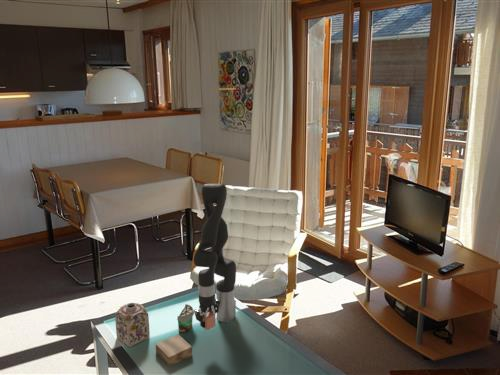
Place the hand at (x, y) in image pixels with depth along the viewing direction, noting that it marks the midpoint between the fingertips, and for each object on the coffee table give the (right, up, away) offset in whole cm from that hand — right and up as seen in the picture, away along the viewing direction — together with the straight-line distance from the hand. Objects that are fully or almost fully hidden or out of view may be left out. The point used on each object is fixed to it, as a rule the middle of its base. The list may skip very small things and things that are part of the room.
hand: (207, 324), depth 207 cm
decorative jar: (-37, -10, +10) cm, 40 cm away
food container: (-12, -8, +18) cm, 23 cm away
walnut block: (-15, -14, -1) cm, 21 cm away
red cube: (0, -1, 0) cm, 1 cm away
